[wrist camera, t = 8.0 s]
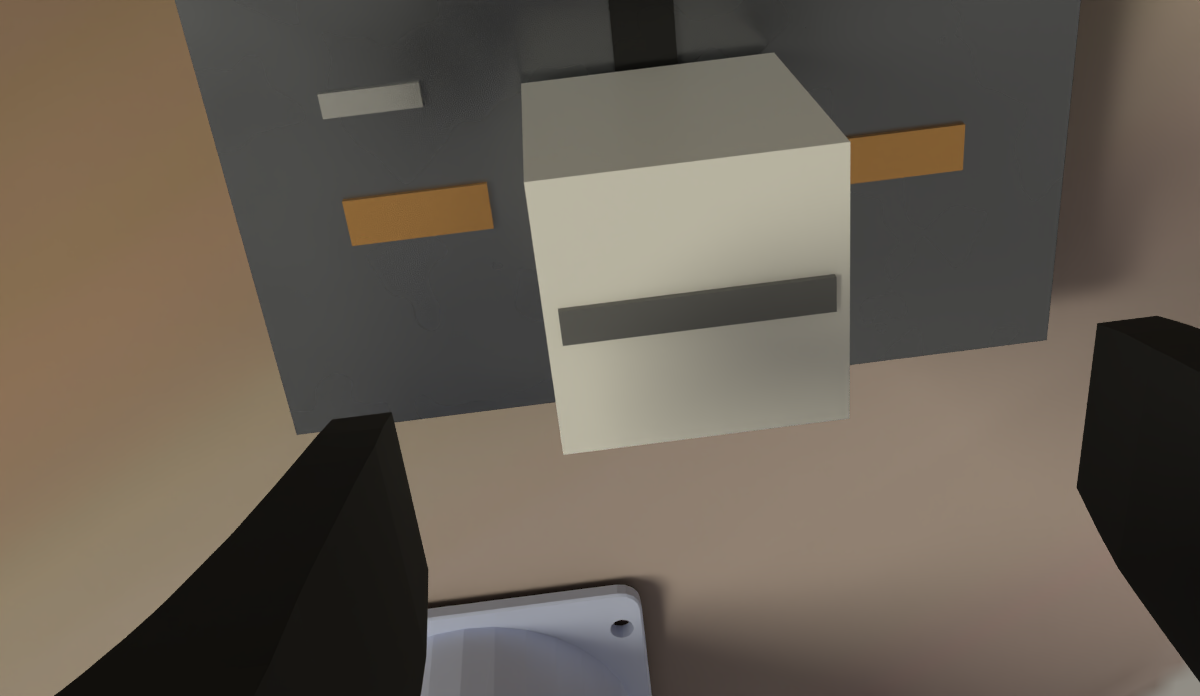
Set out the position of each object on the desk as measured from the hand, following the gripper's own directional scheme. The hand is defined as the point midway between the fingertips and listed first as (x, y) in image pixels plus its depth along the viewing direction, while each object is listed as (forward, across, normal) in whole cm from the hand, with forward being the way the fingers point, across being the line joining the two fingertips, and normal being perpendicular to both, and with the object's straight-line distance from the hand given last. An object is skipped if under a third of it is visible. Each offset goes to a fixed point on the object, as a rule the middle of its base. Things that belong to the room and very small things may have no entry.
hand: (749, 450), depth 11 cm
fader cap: (+8, 0, 0) cm, 8 cm away
